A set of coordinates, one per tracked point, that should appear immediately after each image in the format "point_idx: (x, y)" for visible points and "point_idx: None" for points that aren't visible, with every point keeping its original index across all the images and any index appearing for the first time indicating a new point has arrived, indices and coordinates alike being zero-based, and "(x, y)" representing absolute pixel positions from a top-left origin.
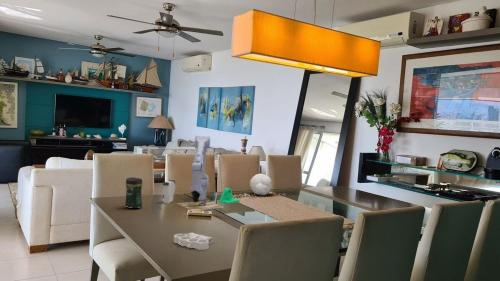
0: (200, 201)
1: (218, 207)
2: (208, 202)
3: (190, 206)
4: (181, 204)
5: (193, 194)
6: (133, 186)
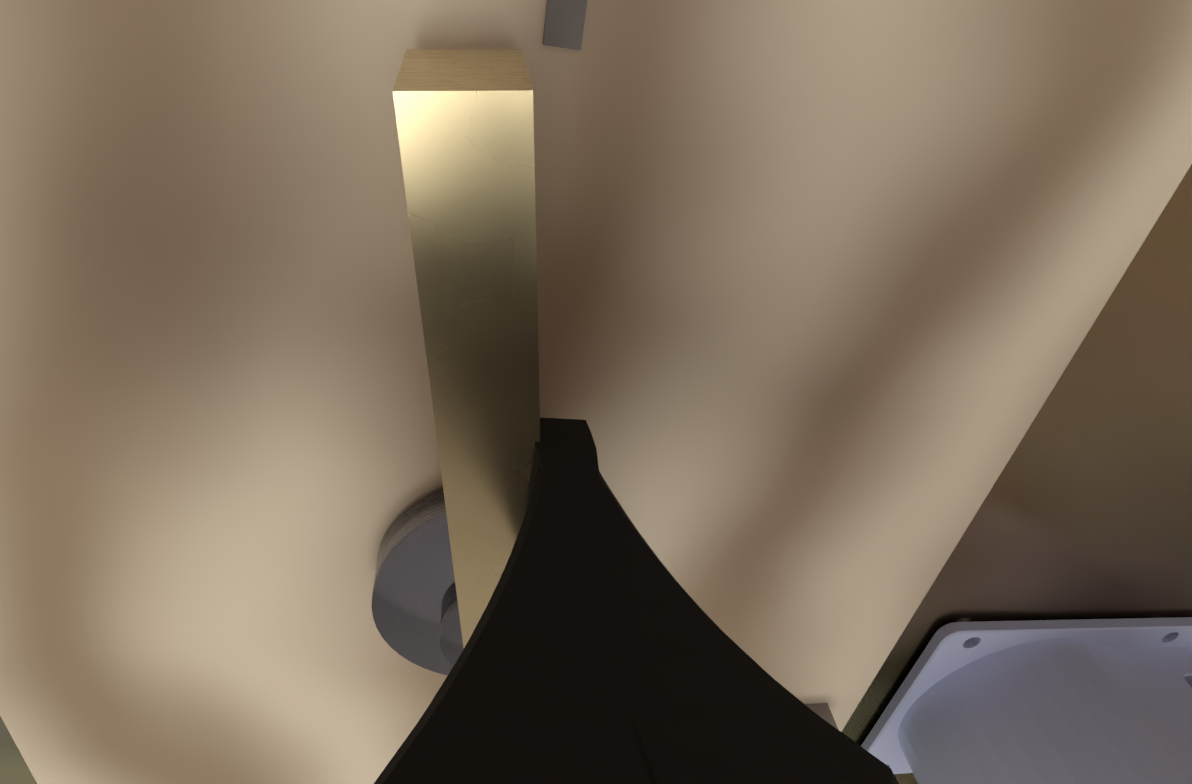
0: (475, 624)
1: (59, 750)
2: None
3: None
4: (1038, 59)
5: (512, 734)
6: None
